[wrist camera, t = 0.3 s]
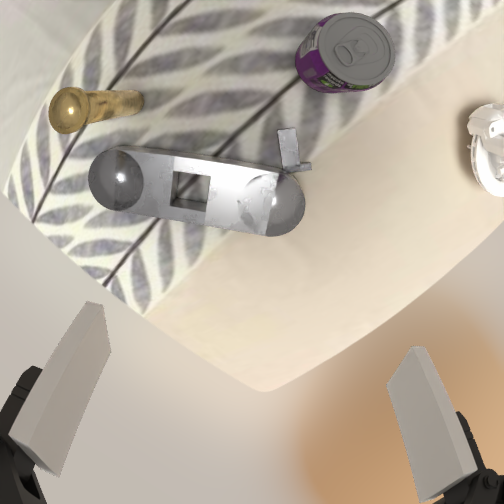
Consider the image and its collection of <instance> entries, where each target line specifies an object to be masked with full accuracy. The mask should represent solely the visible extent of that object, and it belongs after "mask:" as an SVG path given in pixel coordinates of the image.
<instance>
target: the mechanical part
mask: <svg viewBox="0 0 504 504" xmlns="http://www.w3.org/2000/svg"><path fill="white" fill-rule="evenodd" d="M469 119H470V121H469V123H468V125H467V128H468V131H469V133H470V134H471V135H472V136H473V139H472V144H471V145H467V148H468V149H471V164H472V169H473V173H474V175H475V178H476V180H477V182H478V183H479V184H480V186H481V187H482V188H483V189H484V190H486V191H488V192H489V193H491V194H493V195H495V196H499V197H503V196H504V105H503V104H497V103H493V104H487V105H484V106H481V107H479V108H478V109H476V110H475V111H474V112H473V113H472V114H471V115H470V117H469Z"/></svg>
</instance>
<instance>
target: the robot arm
mask: <svg viewBox="0 0 504 504" xmlns="http://www.w3.org/2000/svg"><path fill="white" fill-rule="evenodd" d="M110 353H111V348H110V343H109V338H108V332H107V326H106V320H105V314H104V308H103V305H101V304H97V303H92V302H88V301H87V302H86V303H85V305H84V306H83V308H82V309H81V311H80V312H79V314H78V315H77V317H76V318H75V319H74V321H73V323H72V324H71V325H70V327H69V329H68V330H67V332H66V333H65V335H64V336H63V338H62V339H61V341H60V343H59V344H58V346H57V347H56V349H55V351H54V352H53V354H52V355H51V357H50V359H49V361H48V362H47V364H46V365H45V367H44V369H40V368H38V367H35V366H31V367H30V368H29V369H28V370H26V371H25V372H24V373H23V374H22V375H21V377H20V378H19V380H18V382H17V383H16V386H15V387H14V389H13V390H12V393H11V395H9V397H8V399H7V401H6V403H5V404H4V406H3V408H2V410H1V412H0V504H47V502H46V500H45V498H44V495H43V493H42V490H41V488H40V485H39V483H38V480H37V477H36V474H35V472H34V471H33V468H34V465H35V464H36V465H37V466H38V467H39V468H40V469H41V470H44V471H45V472H48V473H50V474H52V475H54V476H56V477H60V474H61V471H62V468H63V465H64V462H65V460H66V457H67V454H68V451H69V449H70V446H71V444H72V441H73V439H74V436H75V433H76V431H77V428H78V426H79V423H80V421H81V419H82V416H83V414H84V412H85V409H86V407H87V404H88V402H89V400H90V397H91V395H92V393H93V391H94V388H95V386H96V384H97V381H98V379H99V377H100V375H101V373H102V370H103V368H104V366H105V364H106V362H107V360H108V357H109V355H110ZM386 387H387V389H388V393H389V396H390V399H391V402H392V405H393V408H394V411H395V414H396V418H397V421H398V424H399V427H400V431H401V434H402V437H403V441H404V444H405V448H406V451H407V455H408V459H409V462H410V466H411V470H412V473H413V478H414V481H415V486H416V490H417V494H418V498H419V503H421V502H425V501H428V500H432V499H434V498H436V497H437V496H439V495H441V494H444V497H443V498H441V499H440V500H438V501H436V502H435V503H433V504H504V475H497V473H496V472H495V471H494V470H492V469H486V467H485V465H484V463H483V460H482V458H481V455H480V452H479V450H478V447H477V444H476V442H475V439H473V434H472V432H470V427H469V425H468V423H467V420H466V419H465V418H464V416H463V415H462V414H461V413H460V412H459V411H458V412H455V410H454V407H453V405H452V403H451V401H450V398H449V396H448V394H447V392H446V390H445V387H444V385H443V383H442V381H441V379H440V377H439V375H438V373H437V370H436V368H435V366H434V364H433V362H432V360H431V358H430V356H429V354H428V352H427V351H426V349H425V347H424V346H411V348H410V350H409V351H408V353H407V355H406V356H405V358H404V359H403V361H402V362H401V364H400V365H399V367H398V368H397V370H396V371H395V373H394V374H393V376H392V377H391V379H390V380H389V382H388V383H387V384H386Z"/></svg>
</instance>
